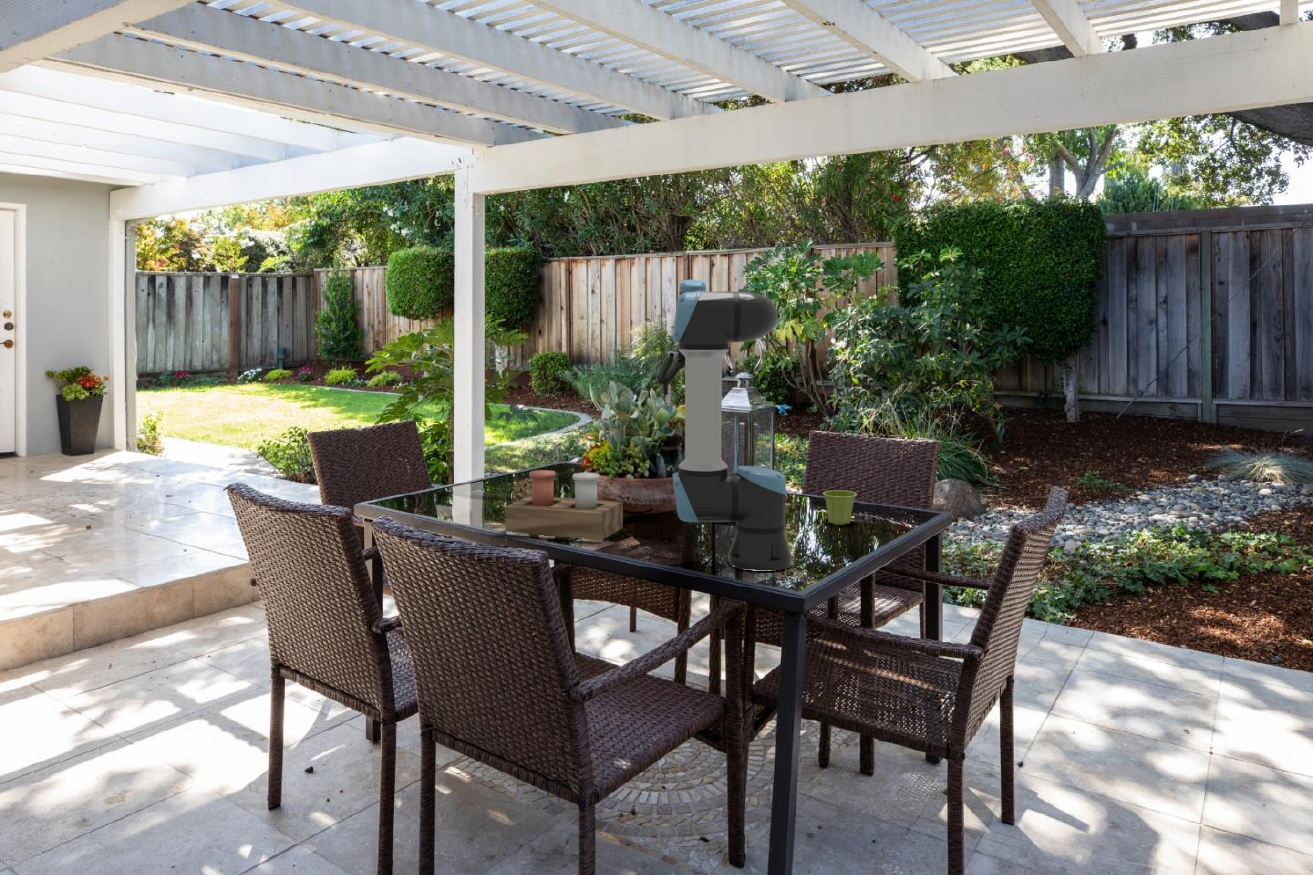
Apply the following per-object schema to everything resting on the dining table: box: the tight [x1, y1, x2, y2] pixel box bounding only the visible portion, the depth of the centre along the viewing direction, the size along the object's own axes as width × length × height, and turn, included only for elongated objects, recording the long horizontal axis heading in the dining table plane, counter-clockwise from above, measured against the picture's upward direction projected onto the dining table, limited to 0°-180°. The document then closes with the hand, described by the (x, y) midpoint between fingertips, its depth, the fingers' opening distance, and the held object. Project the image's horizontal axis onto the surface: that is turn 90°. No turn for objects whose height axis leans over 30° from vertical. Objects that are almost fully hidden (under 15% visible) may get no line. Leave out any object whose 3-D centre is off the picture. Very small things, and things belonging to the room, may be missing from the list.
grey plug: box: [572, 472, 600, 509], centre depth 251 cm, size 7×7×11 cm
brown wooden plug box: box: [504, 496, 624, 540], centre depth 253 cm, size 16×28×8 cm, turn 71°
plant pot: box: [822, 489, 857, 526], centre depth 265 cm, size 9×9×9 cm
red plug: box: [528, 469, 557, 506], centre depth 255 cm, size 7×7×11 cm
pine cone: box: [511, 477, 532, 503], centre depth 278 cm, size 22×10×10 cm, turn 8°
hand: (690, 402), depth 274 cm, fingers open, 13 cm apart
